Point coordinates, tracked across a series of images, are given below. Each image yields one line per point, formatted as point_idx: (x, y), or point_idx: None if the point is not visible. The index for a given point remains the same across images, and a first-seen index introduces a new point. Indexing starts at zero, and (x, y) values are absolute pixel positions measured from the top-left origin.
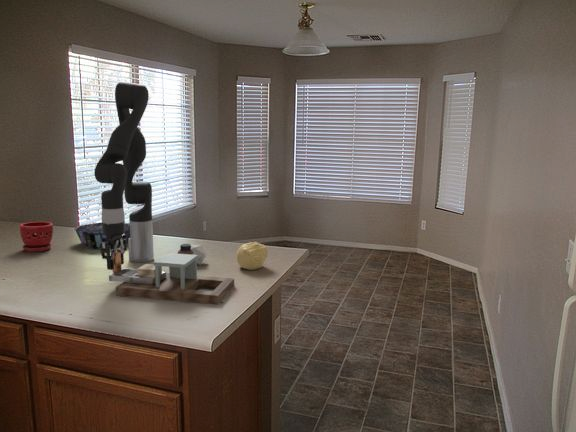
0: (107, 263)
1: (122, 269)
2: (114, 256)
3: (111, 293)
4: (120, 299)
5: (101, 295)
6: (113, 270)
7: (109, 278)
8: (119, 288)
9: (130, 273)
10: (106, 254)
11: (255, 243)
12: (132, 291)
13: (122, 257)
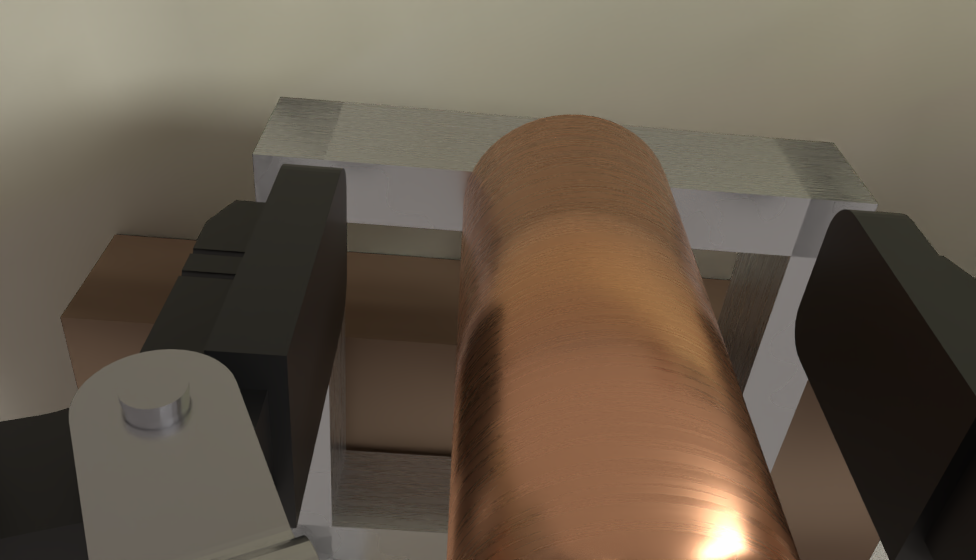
0: (175, 313)
1: (750, 249)
2: (447, 552)
3: (169, 132)
4: (10, 339)
5: (20, 15)
6: (474, 197)
7: (269, 130)
8: (83, 355)
9: (724, 331)
10: (93, 543)
11: None
12: None
13: (860, 481)
